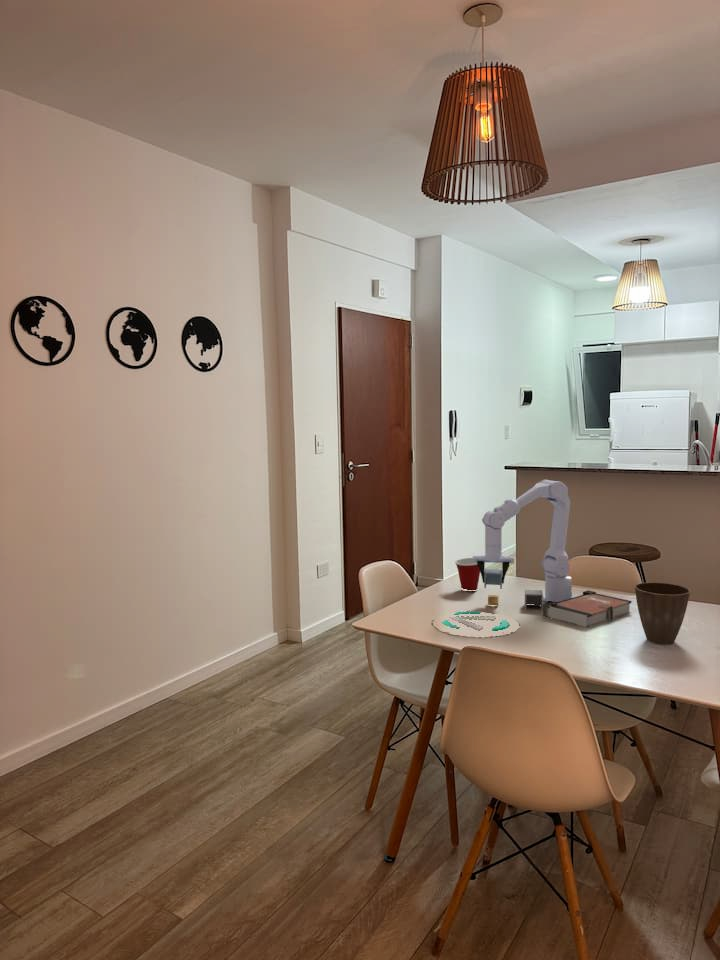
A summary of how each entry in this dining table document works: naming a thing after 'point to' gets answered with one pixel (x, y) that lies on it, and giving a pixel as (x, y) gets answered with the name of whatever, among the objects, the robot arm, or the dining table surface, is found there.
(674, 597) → the plant pot
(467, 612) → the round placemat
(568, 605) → the book
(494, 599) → the cube
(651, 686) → the dining table surface
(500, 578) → the cover
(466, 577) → the plastic cup
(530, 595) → the cover
